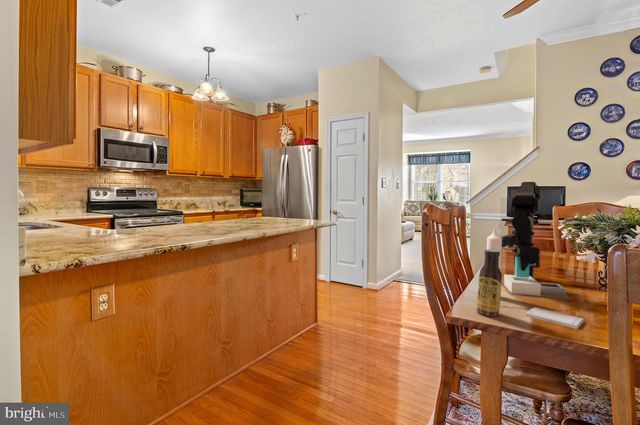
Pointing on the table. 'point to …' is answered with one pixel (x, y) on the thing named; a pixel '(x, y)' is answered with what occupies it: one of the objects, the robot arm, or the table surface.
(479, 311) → the sauce bottle
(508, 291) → the board
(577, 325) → the hard drive
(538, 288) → the port box
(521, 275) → the plug
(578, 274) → the table surface
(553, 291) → the holster
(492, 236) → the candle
